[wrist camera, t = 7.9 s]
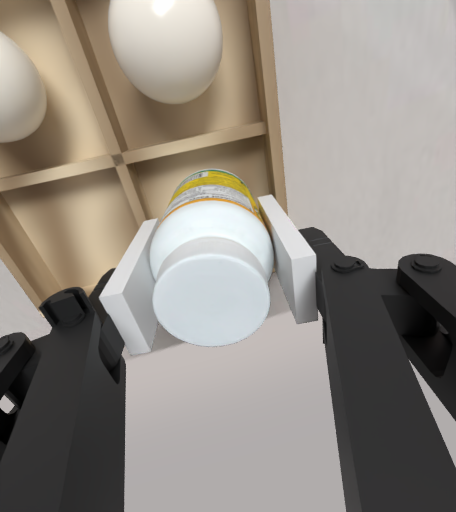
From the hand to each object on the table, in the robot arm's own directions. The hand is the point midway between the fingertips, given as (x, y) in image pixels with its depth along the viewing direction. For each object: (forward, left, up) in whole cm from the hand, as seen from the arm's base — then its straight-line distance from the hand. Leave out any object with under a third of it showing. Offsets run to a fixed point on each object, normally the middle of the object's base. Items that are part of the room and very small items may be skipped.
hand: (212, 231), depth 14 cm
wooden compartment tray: (-4, +4, -5) cm, 8 cm away
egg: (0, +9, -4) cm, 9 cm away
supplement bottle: (0, 0, -3) cm, 4 cm away
